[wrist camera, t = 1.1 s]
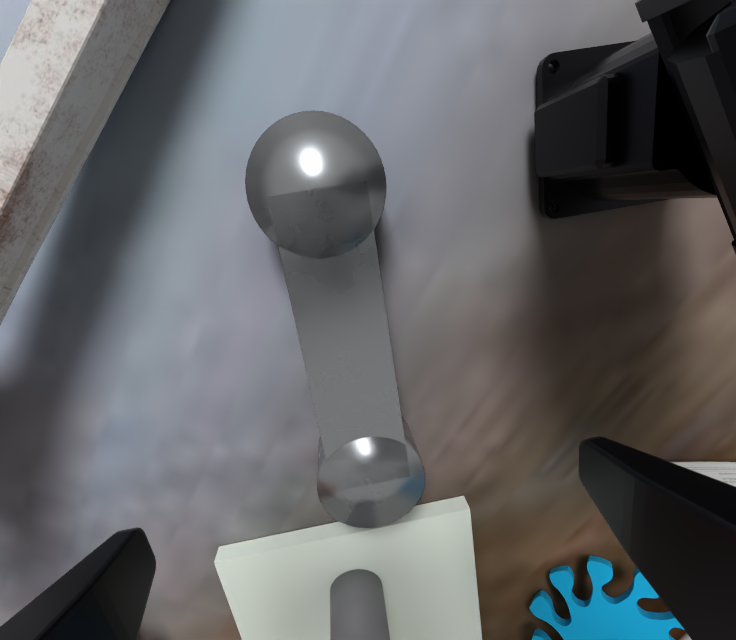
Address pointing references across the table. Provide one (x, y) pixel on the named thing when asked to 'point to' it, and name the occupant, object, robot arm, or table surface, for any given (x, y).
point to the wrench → (58, 111)
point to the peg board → (328, 549)
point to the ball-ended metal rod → (338, 308)
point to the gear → (602, 608)
